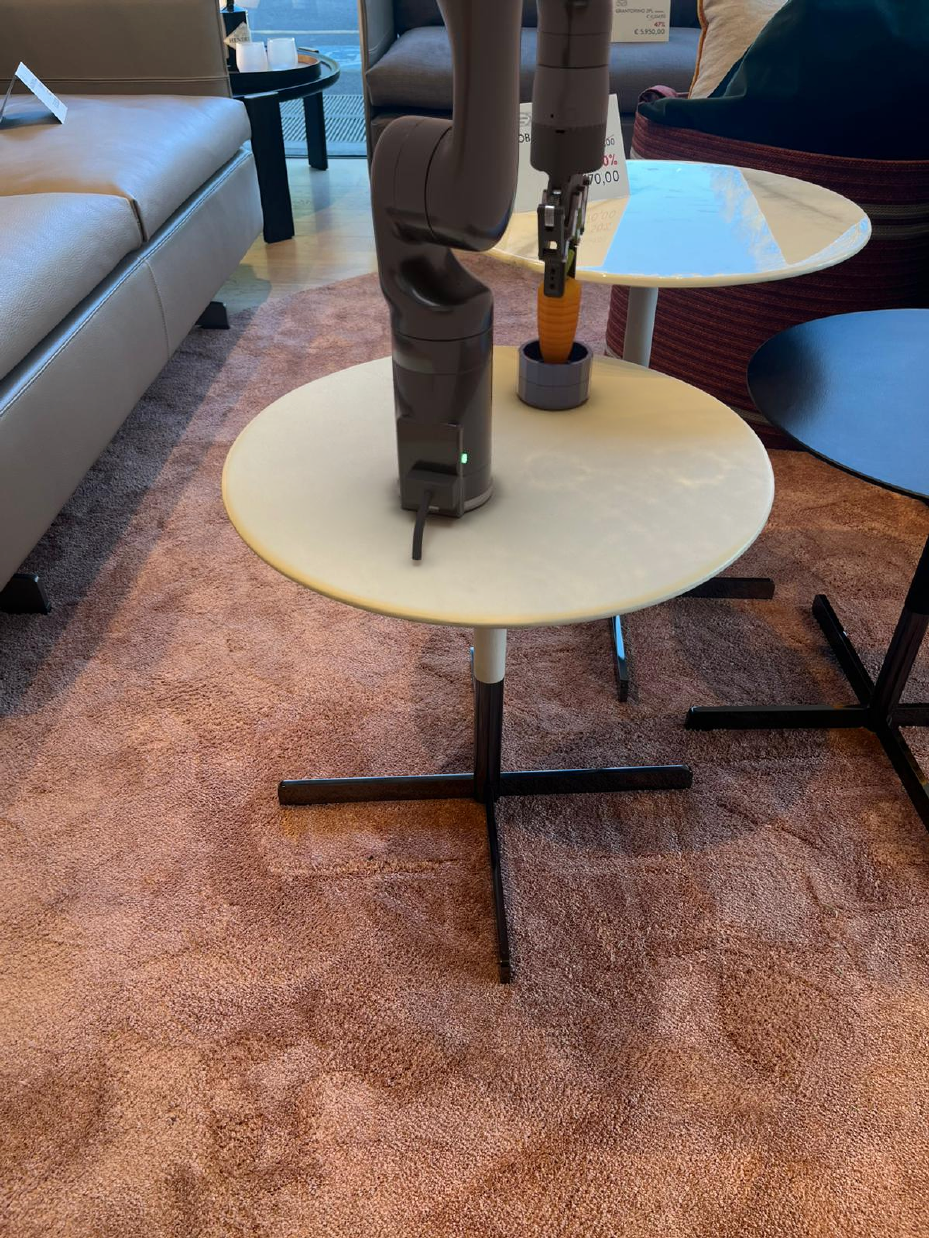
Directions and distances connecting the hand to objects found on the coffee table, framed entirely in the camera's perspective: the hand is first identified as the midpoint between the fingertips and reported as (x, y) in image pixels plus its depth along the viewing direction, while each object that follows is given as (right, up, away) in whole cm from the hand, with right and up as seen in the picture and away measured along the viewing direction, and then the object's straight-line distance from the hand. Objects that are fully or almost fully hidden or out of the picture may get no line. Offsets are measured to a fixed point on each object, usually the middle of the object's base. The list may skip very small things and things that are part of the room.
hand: (559, 288), depth 102 cm
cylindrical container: (0, -10, +8) cm, 13 cm away
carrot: (0, -8, +7) cm, 11 cm away
